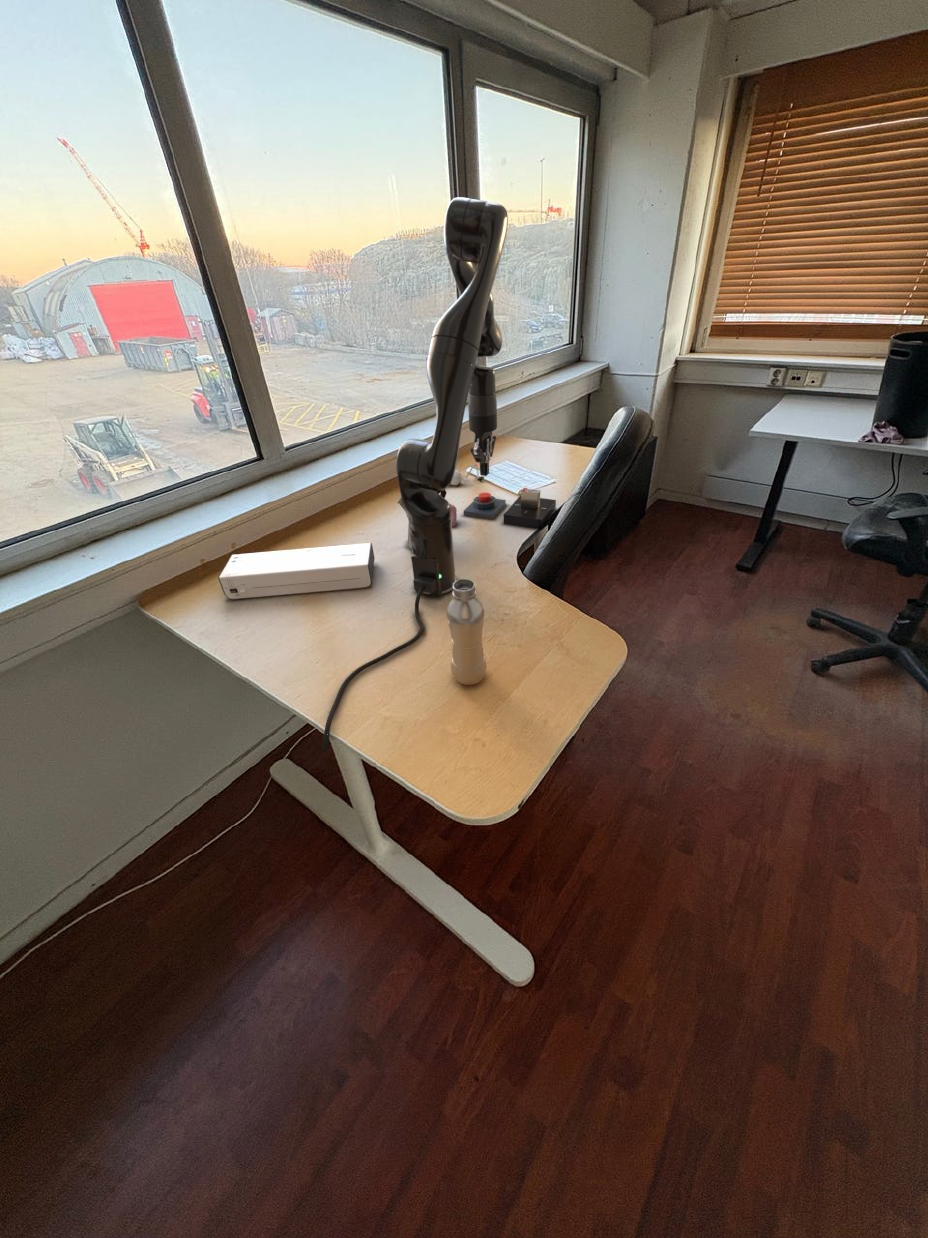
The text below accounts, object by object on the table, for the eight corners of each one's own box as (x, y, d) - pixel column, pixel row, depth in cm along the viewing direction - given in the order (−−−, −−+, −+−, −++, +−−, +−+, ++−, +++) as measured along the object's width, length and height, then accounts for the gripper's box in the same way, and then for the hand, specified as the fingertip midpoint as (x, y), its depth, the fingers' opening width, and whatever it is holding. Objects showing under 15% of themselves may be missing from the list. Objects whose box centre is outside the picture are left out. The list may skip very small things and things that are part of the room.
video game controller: (457, 526, 146) (457, 501, 145) (455, 526, 141) (455, 500, 140) (424, 526, 147) (423, 502, 146) (421, 526, 142) (420, 501, 141)
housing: (492, 520, 145) (492, 508, 143) (463, 516, 148) (463, 504, 146) (505, 505, 153) (505, 494, 150) (478, 501, 156) (478, 490, 154)
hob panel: (541, 529, 138) (541, 519, 136) (503, 524, 142) (503, 513, 140) (555, 509, 148) (556, 499, 146) (519, 504, 152) (520, 494, 150)
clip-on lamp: (480, 482, 176) (429, 473, 175) (484, 464, 173) (432, 455, 171) (482, 492, 166) (428, 483, 164) (486, 473, 163) (430, 463, 161)
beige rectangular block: (539, 506, 143) (540, 489, 140) (537, 509, 142) (538, 492, 139) (523, 504, 145) (523, 487, 142) (520, 507, 143) (520, 490, 140)
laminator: (375, 564, 128) (371, 542, 124) (372, 590, 118) (368, 567, 114) (239, 575, 126) (231, 554, 123) (225, 603, 116) (216, 580, 113)
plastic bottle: (485, 663, 95) (482, 572, 83) (488, 689, 89) (485, 595, 78) (451, 665, 95) (443, 574, 83) (452, 691, 89) (443, 597, 78)
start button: (488, 503, 146) (488, 497, 145) (476, 502, 148) (476, 496, 147) (492, 498, 149) (492, 493, 148) (481, 497, 150) (481, 491, 149)
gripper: (486, 418, 127) (488, 484, 138) (504, 405, 137) (505, 468, 147) (459, 417, 130) (463, 481, 140) (479, 404, 140) (481, 465, 150)
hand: (484, 474), depth 144 cm, fingers closed
